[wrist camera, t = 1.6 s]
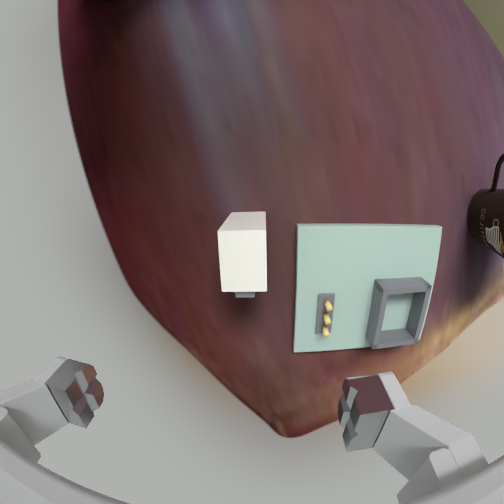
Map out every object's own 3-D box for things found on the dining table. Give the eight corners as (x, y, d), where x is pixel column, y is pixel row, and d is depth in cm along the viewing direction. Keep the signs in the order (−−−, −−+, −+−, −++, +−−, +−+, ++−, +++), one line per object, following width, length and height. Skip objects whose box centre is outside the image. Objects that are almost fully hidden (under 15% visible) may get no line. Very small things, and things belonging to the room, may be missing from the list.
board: (296, 223, 26) (301, 232, 23) (437, 225, 25) (455, 232, 22) (293, 347, 30) (295, 366, 27) (416, 335, 29) (428, 350, 26)
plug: (231, 212, 26) (217, 231, 18) (265, 211, 26) (265, 229, 18) (233, 263, 28) (222, 300, 20) (266, 263, 27) (267, 300, 20)
